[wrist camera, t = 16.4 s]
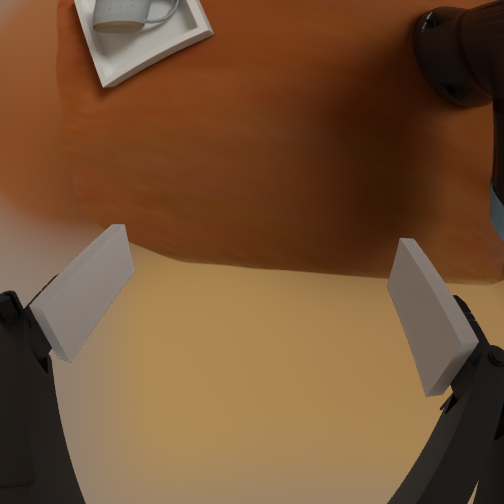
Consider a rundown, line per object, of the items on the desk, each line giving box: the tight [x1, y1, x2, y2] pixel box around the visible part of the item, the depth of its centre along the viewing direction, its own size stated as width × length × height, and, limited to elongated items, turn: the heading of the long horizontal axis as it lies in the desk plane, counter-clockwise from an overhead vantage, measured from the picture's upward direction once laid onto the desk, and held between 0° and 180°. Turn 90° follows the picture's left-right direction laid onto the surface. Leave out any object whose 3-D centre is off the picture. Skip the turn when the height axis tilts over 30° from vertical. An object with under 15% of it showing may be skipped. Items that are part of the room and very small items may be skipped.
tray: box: [74, 0, 214, 87], centre depth 25 cm, size 16×20×3 cm
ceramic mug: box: [93, 0, 179, 33], centre depth 23 cm, size 11×8×8 cm
